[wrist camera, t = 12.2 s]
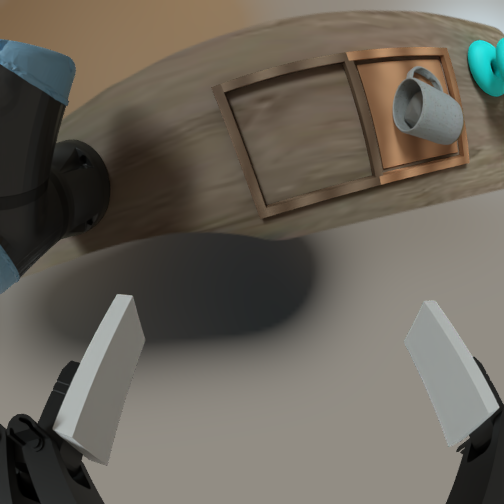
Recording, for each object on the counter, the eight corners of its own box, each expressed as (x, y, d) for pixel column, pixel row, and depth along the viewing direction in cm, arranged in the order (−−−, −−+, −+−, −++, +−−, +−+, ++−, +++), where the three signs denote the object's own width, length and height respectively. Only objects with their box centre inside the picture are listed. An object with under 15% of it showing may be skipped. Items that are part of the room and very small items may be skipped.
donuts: (498, 29, 13) (531, 46, 12) (458, 36, 22) (493, 46, 20) (513, 97, 18) (542, 105, 16) (470, 93, 26) (504, 98, 25)
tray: (260, 215, 38) (260, 219, 37) (212, 88, 30) (211, 87, 29) (465, 161, 32) (469, 162, 31) (442, 48, 24) (446, 48, 23)
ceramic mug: (434, 143, 31) (466, 152, 24) (389, 129, 31) (417, 135, 24) (440, 78, 26) (472, 76, 19) (394, 59, 26) (423, 51, 19)
